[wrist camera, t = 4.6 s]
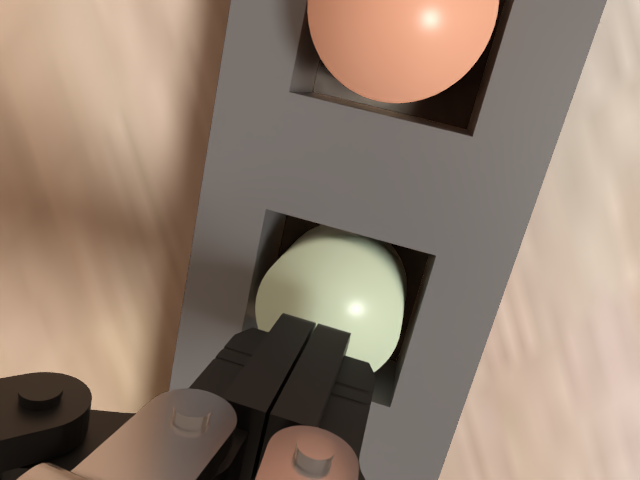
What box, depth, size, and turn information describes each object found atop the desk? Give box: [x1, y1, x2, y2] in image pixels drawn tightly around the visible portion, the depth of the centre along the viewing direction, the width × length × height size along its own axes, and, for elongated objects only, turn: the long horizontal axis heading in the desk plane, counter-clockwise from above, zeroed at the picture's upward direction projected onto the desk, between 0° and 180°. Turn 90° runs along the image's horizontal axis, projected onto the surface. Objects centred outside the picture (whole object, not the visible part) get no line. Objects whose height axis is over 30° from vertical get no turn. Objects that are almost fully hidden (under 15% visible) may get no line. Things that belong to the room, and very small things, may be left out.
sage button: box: [255, 225, 407, 372], centre depth 14 cm, size 4×4×2 cm
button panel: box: [169, 0, 607, 480], centre depth 15 cm, size 22×8×2 cm, turn 168°
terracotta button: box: [307, 0, 499, 103], centre depth 12 cm, size 4×4×2 cm
